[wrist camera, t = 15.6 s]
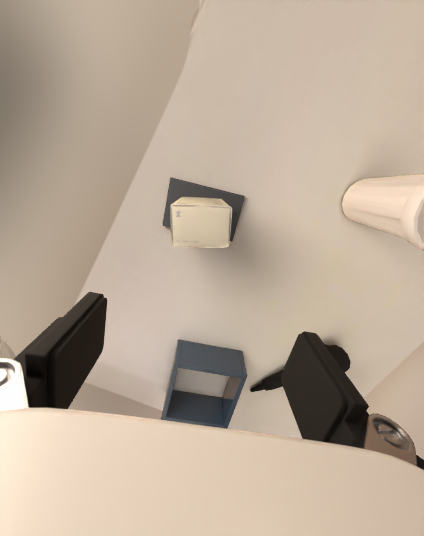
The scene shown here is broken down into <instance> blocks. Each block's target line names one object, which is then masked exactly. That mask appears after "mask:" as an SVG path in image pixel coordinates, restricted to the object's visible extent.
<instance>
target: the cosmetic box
mask: <svg viewBox="0 0 424 536" xmlns="http://www.w3.org/2000/svg"><path fill="white" fill-rule="evenodd" d="M231 220H232V208H231V207H230V206H229V205H228V204H227V203H225V202H224V201H223V200H222V199H215V198H199V197H181V198H180V199H178V200H177V201H175V202H174V203H173V204H171V242H172V246H179V247H202V248H228V247H229V240H230V231H231Z"/></svg>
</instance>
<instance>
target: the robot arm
mask: <svg viewBox="0 0 424 536" xmlns="http://www.w3.org/2000/svg"><path fill="white" fill-rule="evenodd" d="M106 309H107V298H104V296H103V294H98V293H93V292H89V293H87V294H86V295H85V296H84V297H83V298H82V299H81V300H80V301H79V302H78V303H77V304H76V305H75V306H74V307H73V308H72V309H71V310H70V311H69V312H68V313H67V314H66V315H65V316H64V317H59V318H58V319H56V320H55V321H54V322H53V323H52V324H51V325H50V326H49V327H48V328H47V329H46V330H44V331H43V332H42V333H41V334H40V335H39V336H38V337H37V338H36V339H35V340H34V341H33V342H32V343H30V344H29V345H28V346H27V347H26V348H25V349H24V350H23V351H22V352H21V353H20V354H19V355H18V356H17V357H15V358H14V359H9V358H0V536H424V460H423V459H421V458H420V457H419V456H417V455H416V451H415V447H414V443H413V441H412V439H411V438H410V436H409V435H408V434H407V433H406V432H405V431H404V430H403V429H402V428H401V427H400V426H399V425H398V424H396V423H395V422H394V421H392V420H391V419H389V418H387V417H385V416H383V415H380V414H371V415H369V414H368V413H367V411H366V410H367V409H368V407H369V406H368V404H367V403H366V401H365V400H364V399H363V397H362V396H361V395H360V393H359V392H358V390H357V389H356V388H355V386H354V385H353V383H352V382H351V381H350V379H349V378H348V377H347V375H346V374H345V372H344V371H343V370H342V368H341V367H340V365H339V364H338V363H337V361H336V360H335V359H334V357H333V356H332V354H331V353H330V352H329V350H328V349H327V347H326V346H325V345H324V343H323V342H322V341H321V339H320V338H319V336H318V335H317V334H315V333H310V332H303V333H302V334H299V335H298V337H297V340H296V342H295V344H294V346H293V349H292V351H291V353H290V356H289V358H288V360H287V363H286V365H285V367H284V370H283V372H282V375H281V382H282V385H283V388H284V390H285V393H286V396H287V398H288V401H289V404H290V406H291V409H292V412H293V414H294V417H295V420H296V422H297V425H298V428H299V430H300V433H301V436H302V438H303V439H299V438H291V437H284V436H277V435H270V434H263V433H255V432H248V431H240V430H233V429H226V428H218V427H210V426H203V425H195V424H188V423H180V422H172V421H164V420H155V419H148V418H140V417H132V416H125V415H116V414H107V413H98V412H89V411H79V410H71V409H70V410H69V409H68V407H69V406H70V404H71V402H72V401H73V399H74V397H75V396H76V394H77V393H78V391H79V389H80V388H81V386H82V384H83V383H84V381H85V379H86V378H87V376H88V374H89V373H90V371H91V369H92V368H93V366H94V364H95V363H96V361H97V359H98V358H99V356H100V354H101V352H102V350H103V346H104V334H105V321H106Z"/></svg>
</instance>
